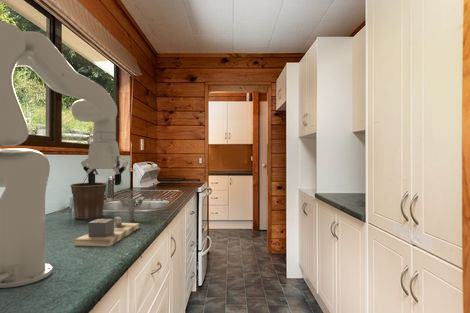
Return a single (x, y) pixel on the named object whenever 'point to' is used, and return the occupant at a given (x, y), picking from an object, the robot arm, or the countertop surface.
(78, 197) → the plant pot
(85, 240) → the light wood flat block
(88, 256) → the countertop surface
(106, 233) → the grey and orange block
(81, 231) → the countertop surface
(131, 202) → the mechanical component
